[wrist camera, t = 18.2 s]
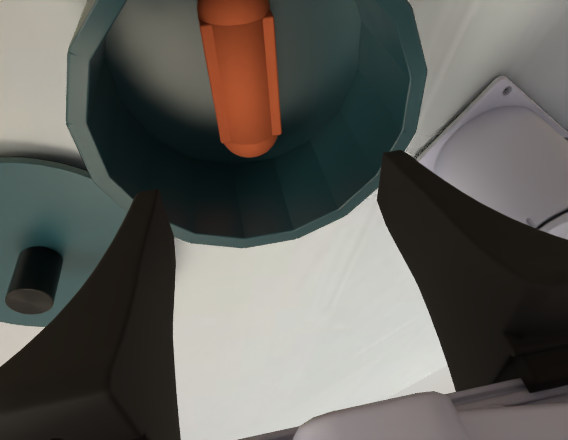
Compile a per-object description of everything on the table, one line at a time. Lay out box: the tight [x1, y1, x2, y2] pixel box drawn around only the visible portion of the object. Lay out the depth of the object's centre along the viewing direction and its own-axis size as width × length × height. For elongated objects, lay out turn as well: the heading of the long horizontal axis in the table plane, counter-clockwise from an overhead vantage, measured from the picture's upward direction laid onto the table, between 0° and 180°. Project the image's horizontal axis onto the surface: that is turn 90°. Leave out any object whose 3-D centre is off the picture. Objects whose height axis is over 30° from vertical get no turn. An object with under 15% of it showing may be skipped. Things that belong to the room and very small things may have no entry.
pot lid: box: [0, 157, 127, 327], centre depth 26 cm, size 14×14×4 cm
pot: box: [66, 0, 427, 248], centre depth 19 cm, size 13×13×6 cm
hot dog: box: [197, 0, 282, 158], centre depth 20 cm, size 9×3×3 cm, turn 3°
